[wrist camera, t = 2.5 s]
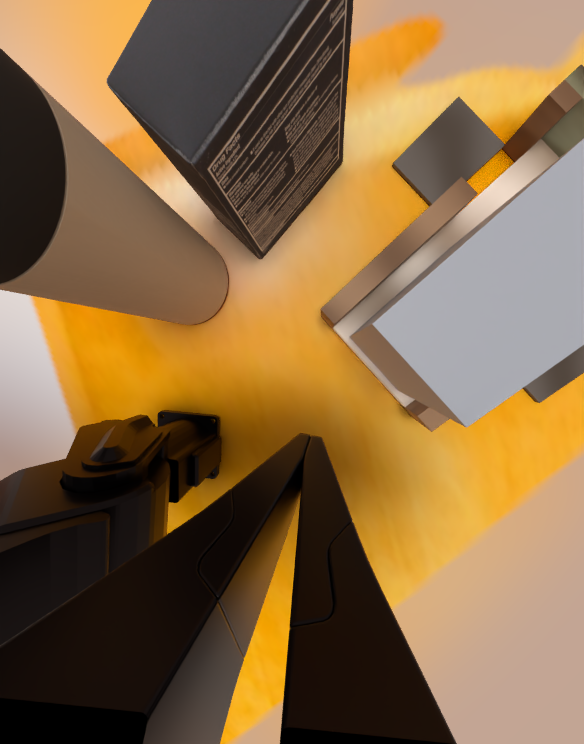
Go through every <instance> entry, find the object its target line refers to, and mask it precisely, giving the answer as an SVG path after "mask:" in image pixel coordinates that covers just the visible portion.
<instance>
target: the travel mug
mask: <svg viewBox="0 0 584 744" xmlns="http://www.w3.org/2000/svg"><path fill="white" fill-rule="evenodd" d="M227 288H228V274H227V269H226V266H225V263H224V261H223V259H222V257H221V256H220V254H219V253H218V252H217V250H216V249H215V248H214V247H213V246H212V245H210V244H209V243H208V242H207V241H206V240H205V239H204V238H203V237H202V236H201V235H200V234H199V233H198V232H197V231H195V230H194V229H193V228H192V227H191V226H190V225H189V224H188V223H187V222H186V221H185V220H184V219H183V218H182V217H180V216H179V215H178V214H177V213H176V212H175V211H174V210H173V209H172V208H171V207H170V206H169V205H168V204H167V203H165V202H164V201H163V200H162V199H161V198H160V197H159V196H158V195H157V194H156V193H155V192H154V191H153V190H152V189H150V188H149V187H148V186H147V185H146V184H145V183H144V182H143V181H142V180H141V179H140V178H139V177H138V176H137V175H135V174H134V173H133V172H132V171H131V170H130V169H129V168H128V167H127V166H126V165H125V164H124V163H123V162H122V161H120V160H119V159H118V158H117V157H116V156H115V155H114V154H113V153H112V152H111V151H110V150H109V149H108V148H107V147H105V146H104V145H103V144H102V143H101V142H100V141H99V140H98V139H97V138H96V137H95V136H94V135H93V134H92V133H90V132H89V131H88V130H87V129H86V128H85V127H84V126H83V125H82V124H81V123H80V122H79V121H78V120H77V119H75V118H74V117H73V116H72V115H71V114H70V113H69V112H68V111H67V110H66V109H65V108H64V107H63V106H62V105H60V104H59V103H58V102H57V101H56V100H55V99H54V98H53V97H52V96H51V95H49V93H48V92H46V91H45V90H44V89H43V88H42V87H41V86H40V85H39V84H38V83H37V82H36V81H35V80H34V79H33V78H32V77H30V76H29V75H28V74H27V73H26V72H25V71H24V70H23V69H22V68H21V67H20V66H19V65H17V63H15V62H14V61H13V60H12V59H11V58H10V57H9V56H8V55H7V54H6V53H5V52H4V51H3V50H2V49H0V290H5V291H10V292H16V293H21V294H26V295H31V296H37V297H42V298H47V299H53V300H58V301H63V302H68V303H74V304H79V305H84V306H90V307H95V308H100V309H105V310H111V311H116V312H121V313H127V314H132V315H137V316H143V317H148V318H153V319H158V320H164V321H169V322H174V323H180V324H185V325H193V324H199V323H202V322H204V321H206V320H208V319H209V318H211V317H212V316H213V315H214V314H215V313H216V312H217V311H218V310H219V309H220V307H221V306H222V304H223V302H224V300H225V297H226V293H227Z"/></svg>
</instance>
